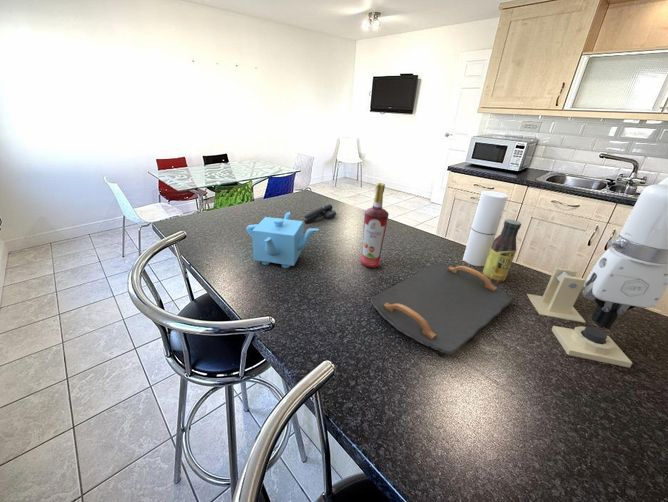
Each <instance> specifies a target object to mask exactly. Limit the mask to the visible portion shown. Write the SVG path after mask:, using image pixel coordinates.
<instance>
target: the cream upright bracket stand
mask: <svg viewBox="0 0 668 502" xmlns="http://www.w3.org/2000/svg"><path fill="white" fill-rule="evenodd" d="M563 272H566V273H568V274H570V275H572V276H574V277H571V276H564V275H563V276H562V278H561V280H560V281H559V280H558V279H557V277H558V276H559V275H560V274H562V273H563ZM577 273H578V272H577V271H576V269H570V268H562V267H554V270H553V272H552V274H551V276H550V278H549V281H548V283H547V285H546V288H545V290H544V292H543V295H536V294H530V293H526V296H527V298H528V299H529V301H530V302H531V304H532V306H533V307H534V308H535V310H536V312H537V313H538V314H539V316H545V317H549V318H556V319H561V320H566V321H571V322H578V323H581V324H586V323H587V321H586V320H585V319H584V318H583V316H582V315H581V314H580V313H579V312H578V311H577V310H576V308H575V307H574V305H575V304H576V301H577V299H578V297H579V295H580V294H581V291H582V287H583V285H584V286H585V282H586V280H587V279H585V278H583V277H577V276H576V275H577Z"/></svg>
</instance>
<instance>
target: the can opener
mask: <svg viewBox="0 0 668 502" xmlns="http://www.w3.org/2000/svg"><path fill="white" fill-rule="evenodd" d="M336 215H337V212H336V211H335V210H333V205H332V204H327V205H321V206H320V207H319V208H316V209H314V210H312V211H310V212H308V213H307V214H304V220H303V223H305V224H309V223H312V222H313V221H316V220H317V219H319V218H321V217H323V218H325V219H327V220H329V219H330V220H331V219H332V218H334V217H335V216H336Z"/></svg>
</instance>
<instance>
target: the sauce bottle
mask: <svg viewBox="0 0 668 502" xmlns="http://www.w3.org/2000/svg"><path fill="white" fill-rule="evenodd" d="M521 227H522V222H520V221H519V220H514V219H510V218H509V219H505V220H504V223H503V228H502V230H501V232H500V234H499V235H498V236H496V237H495V239H494V242H493V245H492V247H491V249H490V252H489V255H488V258H487V260H486V263H485V266H483V269H482V274H484V275H485V276H487V277H488V278H489V280H490V281H491V283H496V284H503V283H504V282H505V280H506V278H507V276H508V273H509V270H510V269H511V266H512V263H513V260H514V258H515V256H516V253H517V237H518V233H519V230H520V229H521Z"/></svg>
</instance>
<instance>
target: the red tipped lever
mask: <svg viewBox="0 0 668 502" xmlns="http://www.w3.org/2000/svg"><path fill="white" fill-rule="evenodd" d="M563 275H564V276H571V277H574V276H572V275H570V274H568V273H566V272H563V273H562V274H560V275H559V276H558V277H557V279H558V280H559V281H560V280H561V278H562V276H563ZM585 288H586V287H585V284H584V285H583V287H582V289H581V291H582V292H583V291H584V290H585Z"/></svg>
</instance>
